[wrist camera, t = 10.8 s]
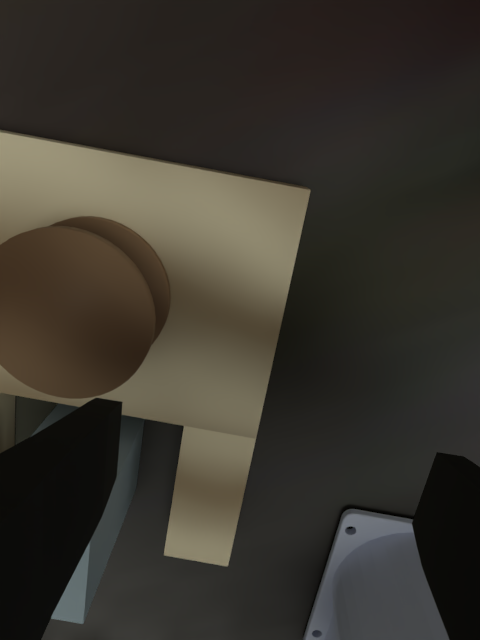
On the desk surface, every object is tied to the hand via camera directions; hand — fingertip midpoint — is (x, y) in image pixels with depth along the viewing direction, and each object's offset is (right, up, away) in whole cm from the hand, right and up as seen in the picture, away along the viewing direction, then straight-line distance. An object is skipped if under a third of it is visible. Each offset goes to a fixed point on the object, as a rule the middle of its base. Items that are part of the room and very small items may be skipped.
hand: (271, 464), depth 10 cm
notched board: (-7, +2, +10) cm, 12 cm away
